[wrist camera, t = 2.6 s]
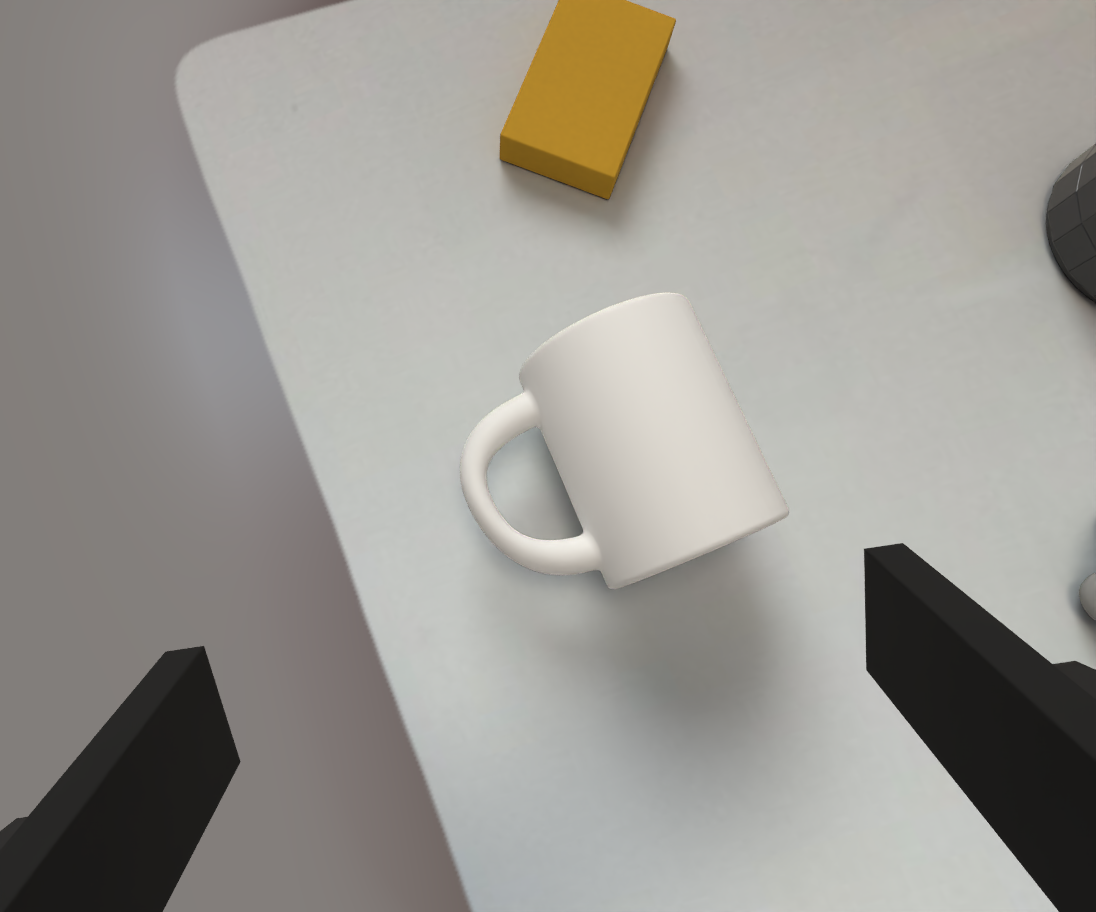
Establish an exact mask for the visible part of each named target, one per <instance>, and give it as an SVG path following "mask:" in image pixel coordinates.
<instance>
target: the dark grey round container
mask: <svg viewBox="0 0 1096 912" xmlns="http://www.w3.org/2000/svg"><path fill="white" fill-rule="evenodd" d="M1046 227H1047V234H1048V239H1049V242H1050V246H1051V249H1052V251H1053V254H1054V256H1055V258H1056V260H1057V262H1058V264H1059V266H1060V267H1061V269H1062V270H1063V272H1064V273H1065V274H1066V276H1067V277H1068V278H1069V280H1070V281H1071V282H1072V283H1073V284H1074V285H1075V286H1076V287H1077V288H1078V289H1079V290H1080V291H1081V292H1082V293H1083V294H1084V295H1086V296H1087V297H1089V298H1090V299H1091V300H1093V301H1094V302H1096V144H1094V145H1093V146H1092V147H1090V148H1089V149H1088V150H1087V151H1085V152H1084V153H1083V154H1082V155H1080V156H1079V157H1078V158H1076V159H1075V160H1074V161H1073V162H1071V163H1070V164H1069V165H1068V167H1067V168H1066V170H1065V171H1064V172H1063V174H1062V175H1061V176H1060V178H1059V179H1058V180H1057V182H1056V183H1055V185H1054V186H1053V191H1052V194H1051V197H1050V200H1049V203H1048V207H1047V214H1046Z"/></svg>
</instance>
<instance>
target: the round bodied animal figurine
mask: <svg viewBox="0 0 1096 912" xmlns="http://www.w3.org/2000/svg"><path fill="white" fill-rule="evenodd" d="M1079 597H1080V601H1081V603H1082V606H1083V607H1084V609H1085V611H1086V612H1087V613H1088V614H1089V616H1090V617H1091V618H1093V619H1094V620H1095V621H1096V573H1094V574H1092V575H1090V576H1089V577H1087V578H1086V579H1085V580H1084V582H1083V583H1082V584H1081V586H1080V588H1079Z"/></svg>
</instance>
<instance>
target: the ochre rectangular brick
mask: <svg viewBox="0 0 1096 912" xmlns="http://www.w3.org/2000/svg"><path fill="white" fill-rule="evenodd" d="M675 22H676V19H675V18H672V17H669V16H667V15H664V14H661V13H658V12H656V11H653V10H650V9H648V8H645V7H642V6H640V5H637V4H634V3H632V2H629V1H626V0H559V1H558V4H557V6H556V8H555V10H554V13H553V15H552V17H551V20H550V22H549V24H548V26H547V29H546V31H545V33H544V36H543V38H542V40H541V43H540V45H539V47H538V49H537V52H536V54H535V56H534V59H533V61H532V63H531V66H530V68H529V70H528V72H527V75H526V77H525V79H524V82H523V84H522V86H521V88H520V91H519V93H518V95H517V98H516V100H515V102H514V105H513V107H512V109H511V111H510V114H509V116H508V118H507V121H506V123H505V125H504V127H503V130H502V132H501V134H500V159H501V160H503V161H506V162H509V163H511V164H514V165H517V166H519V167H522V168H525V169H527V170H530V171H533V172H535V173H538V174H541V175H543V176H546V177H549V178H551V179H554V180H557V181H559V182H562V183H565V184H568V185H570V186H573V187H576V188H578V189H581V190H584V191H586V192H589V193H592V194H594V195H597V196H600V197H602V198H605V199H609V198H610V196H611V193H612V191H613V188H614V185H615V183H616V180H617V178H618V175H619V172H620V170H621V167H622V165H623V162H624V159H625V157H626V154H627V152H628V149H629V146H630V144H631V141H632V139H633V136H634V133H635V131H636V128H637V126H638V123H639V120H640V118H641V115H642V113H643V110H644V107H645V105H646V102H647V100H648V97H649V94H650V92H651V89H652V87H653V84H654V81H655V79H656V76H657V74H658V71H659V68H660V66H661V63H662V61H663V58H664V55H665V53H666V50H667V48H668V45H669V41H670V38H671V35H672V32H673V29H674V26H675Z"/></svg>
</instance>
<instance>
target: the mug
mask: <svg viewBox="0 0 1096 912" xmlns="http://www.w3.org/2000/svg"><path fill="white" fill-rule="evenodd" d="M519 380H520V383H521V385H522V387H523V390H524V391H523V393H522V394H520V395H518V396H516V397H514V398H512V399H510V400H509V401H507V402H505V403H503V404H502V405H500V406H498V407H497V408H496V409H494V410H493V411H491V412H490V413H489V414H488V415H486V416H485V417H484V418H483V419H482V420H481V421H480V422H479V423H478V424H477V425H476V427H475V428H474V429H473V431H472V432H471V433H470V435H469V437H468V439H467V440H466V443H465V445H464V448H463V451H462V455H461V460H460V479H461V485H462V489H463V493H464V496H465V499H466V502H467V504H468V506H469V509H470V511H471V513H472V515H473V516H474V518H475V520H476V522H477V523H478V525H479V526H480V528H481V529H482V531H483V532H484V533H485V535H486V536H487V537H488V538H489V540H490V541H491V542H492V543H493V544H494V545H495V546H496V547H497V548H498V549H499V550H500V551H501V552H502V553H504V554H505V555H506V556H507V557H509V558H510V559H511V560H513V561H514V562H516V563H518V564H519V565H521V566H523V567H525V568H528V569H530V570H533V571H536V572H539V573H544V574H549V575H573V574H580V573H585V572H589V571H593V570H600V571H601V573H602V575H603V577H604V580H605V582H606V584H607V586H608V587H609V588H610V589H618V588H621V587H624V586H627V585H630V584H632V583H635V582H638V581H640V580H643V579H645V578H648V577H650V576H653V575H655V574H658V573H660V572H663V571H665V570H668V569H670V568H673V567H675V566H678V565H680V564H682V563H685V562H687V561H690V560H692V559H694V558H697V557H699V556H702V555H704V554H706V553H709V552H711V551H713V550H716V549H718V548H720V547H723V546H725V545H727V544H730V543H732V542H734V541H737V540H739V539H741V538H743V537H746V536H748V535H750V534H752V533H755V532H757V531H759V530H761V529H764V528H766V527H768V526H770V525H772V524H774V523H776V522H778V521H780V520H782V519H784V518H786V517H787V516H788V514H789V508H788V506H787V504H786V502H785V500H784V498H783V496H782V493H781V491H780V489H779V487H778V485H777V483H776V481H775V479H774V477H773V475H772V473H771V470H770V468H769V466H768V464H767V462H766V460H765V458H764V456H763V454H762V452H761V450H760V448H759V445H758V443H757V441H756V439H755V437H754V435H753V433H752V431H751V429H750V427H749V425H748V422H747V420H746V418H745V416H744V414H743V412H742V410H741V408H740V406H739V404H738V402H737V400H736V397H735V395H734V393H733V391H732V389H731V387H730V385H729V383H728V381H727V379H726V377H725V374H724V372H723V370H722V368H721V366H720V364H719V362H718V360H717V358H716V356H715V354H714V352H713V349H712V347H711V345H710V343H709V341H708V339H707V337H706V335H705V333H704V331H703V329H702V326H701V324H700V322H699V320H698V318H697V316H696V314H695V312H694V310H693V308H692V306H691V304H690V302H689V300H688V299H687V298H686V297H685V296H683V295H681V294H677V293H656V294H650V295H645V296H641V297H637V298H633V299H630V300H627V301H624V302H621V303H618V304H615V305H613V306H610V307H608V308H605V309H603V310H600V311H598V312H596V313H594V314H592V315H590V316H588V317H585V318H583V319H582V320H580V321H578V322H576V323H574V324H572V325H571V326H569V327H567V328H565V329H564V330H562V331H560V332H559V333H557V334H556V335H554V336H553V337H551V338H550V339H549V340H547V341H546V342H545V343H543V344H542V345H541V346H540V347H538V348H537V349H536V350H535V351H534V352H533V353H532V354H531V355H530V356H529V357H528V358H527V360H526V361H525V362H524V364H523V365H522V367H521V369H520V373H519ZM534 427H537V428H539V429H540V430H541V432H542V434H543V437H544V439H545V441H546V444H547V446H548V448H549V451H550V453H551V455H552V458H553V460H554V462H555V465H556V467H557V470H558V472H559V474H560V477H561V479H562V481H563V484H564V486H565V488H566V491H567V493H568V495H569V498H570V500H571V502H572V505H573V507H574V509H575V512H576V514H577V516H578V519H579V521H580V523H581V526H582V528H583V533H582V535H580V536H577V537H573V538H568V539H561V540H540V539H535V538H531V537H528V536H525V535H523V534H521V533H519V532H518V531H516V530H515V529H513V528H512V527H511V526H510V525H509V524H508V523H507V522H506V520H505V519H504V518H503V517H502V515H501V514H500V512H499V511H498V509H497V507H496V505H495V503H494V501H493V499H492V497H491V495H490V492H489V489H488V485H487V469H488V466H489V463H490V461H491V459H492V458H493V456H494V455H495V454H496V453H497V452H498V450H500V449H501V448H502V447H503V446H504V445H505V444H506V443H508V442H509V441H511V440H512V439H513V438H515V437H517V436H518V435H520V434H522V433H524V432H526V431H528V430H529V429H531V428H534Z"/></svg>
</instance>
